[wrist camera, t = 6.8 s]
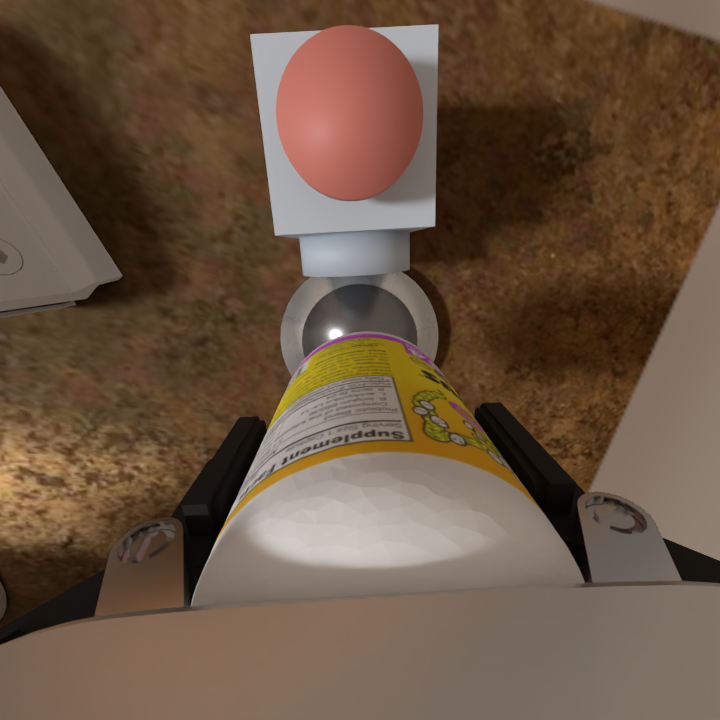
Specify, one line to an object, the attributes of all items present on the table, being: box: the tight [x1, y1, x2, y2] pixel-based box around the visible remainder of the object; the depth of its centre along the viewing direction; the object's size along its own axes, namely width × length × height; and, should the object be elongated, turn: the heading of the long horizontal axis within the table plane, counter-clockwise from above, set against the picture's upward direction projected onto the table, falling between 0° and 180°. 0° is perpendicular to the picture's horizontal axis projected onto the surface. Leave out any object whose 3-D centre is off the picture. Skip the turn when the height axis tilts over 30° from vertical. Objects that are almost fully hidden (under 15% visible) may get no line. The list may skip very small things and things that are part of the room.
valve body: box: [250, 25, 438, 277], centre depth 17 cm, size 9×7×10 cm
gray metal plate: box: [281, 272, 438, 377], centre depth 24 cm, size 11×11×1 cm
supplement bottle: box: [191, 331, 585, 606], centre depth 8 cm, size 7×7×13 cm
